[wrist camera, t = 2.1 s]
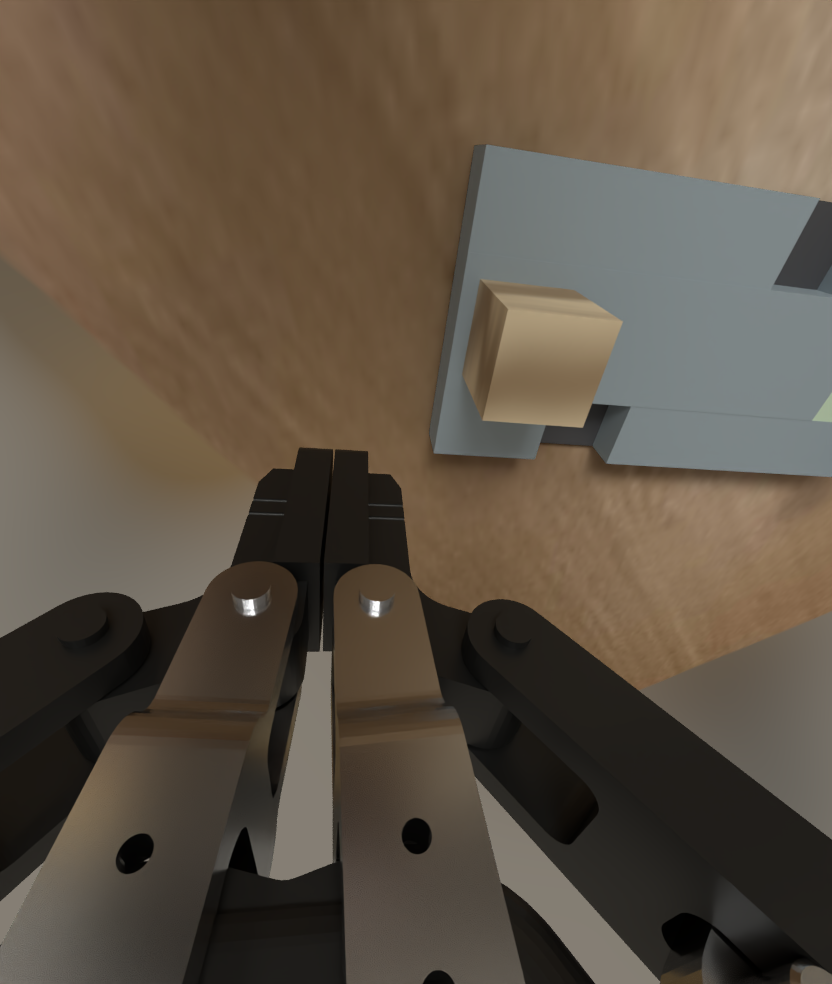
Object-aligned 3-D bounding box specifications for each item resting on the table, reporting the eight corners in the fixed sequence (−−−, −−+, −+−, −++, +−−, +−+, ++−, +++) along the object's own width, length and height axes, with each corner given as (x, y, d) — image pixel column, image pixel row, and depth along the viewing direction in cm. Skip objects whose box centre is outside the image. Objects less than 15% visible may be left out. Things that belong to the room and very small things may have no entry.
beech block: (480, 278, 21) (508, 309, 17) (574, 290, 21) (622, 321, 17) (462, 374, 23) (482, 420, 19) (546, 381, 24) (582, 427, 20)
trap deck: (474, 145, 20) (505, 142, 15) (999, 229, 24) (1142, 246, 19) (429, 432, 28) (440, 484, 23) (825, 458, 32) (897, 506, 27)
